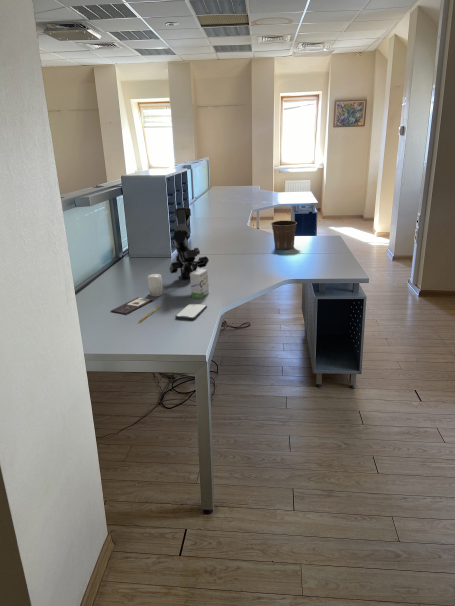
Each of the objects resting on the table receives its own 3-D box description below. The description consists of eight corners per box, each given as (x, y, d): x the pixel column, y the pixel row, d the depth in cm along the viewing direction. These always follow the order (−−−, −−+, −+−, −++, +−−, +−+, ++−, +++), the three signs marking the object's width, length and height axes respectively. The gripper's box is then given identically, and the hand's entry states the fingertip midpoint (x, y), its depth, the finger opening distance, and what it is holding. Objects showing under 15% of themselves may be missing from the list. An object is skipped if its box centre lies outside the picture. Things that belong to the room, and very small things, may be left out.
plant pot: (290, 251, 276) (290, 226, 270) (267, 249, 284) (266, 224, 278) (300, 246, 289) (301, 221, 283) (278, 244, 297) (278, 219, 291)
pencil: (139, 324, 180) (160, 308, 196) (138, 322, 180) (160, 306, 195) (136, 324, 180) (158, 308, 196) (136, 321, 180) (157, 305, 196)
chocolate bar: (110, 310, 194) (137, 297, 208) (110, 312, 194) (137, 299, 209) (126, 313, 190) (152, 299, 204) (126, 315, 190) (153, 301, 204)
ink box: (200, 298, 204) (198, 274, 200) (191, 297, 206) (189, 273, 202) (209, 293, 211) (207, 269, 207) (200, 291, 213) (198, 268, 209)
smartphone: (189, 306, 197) (174, 319, 183) (189, 303, 197) (174, 316, 182) (208, 308, 194) (194, 321, 180) (208, 304, 194) (194, 317, 180)
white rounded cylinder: (147, 293, 214) (145, 275, 211) (160, 290, 217) (158, 273, 214) (152, 297, 209) (150, 278, 206) (165, 294, 212) (163, 276, 209)
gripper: (169, 245, 203) (181, 274, 198) (205, 239, 212) (218, 267, 207) (164, 259, 212) (175, 286, 207) (199, 252, 221) (211, 279, 216)
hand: (195, 279), depth 209 cm, fingers closed
